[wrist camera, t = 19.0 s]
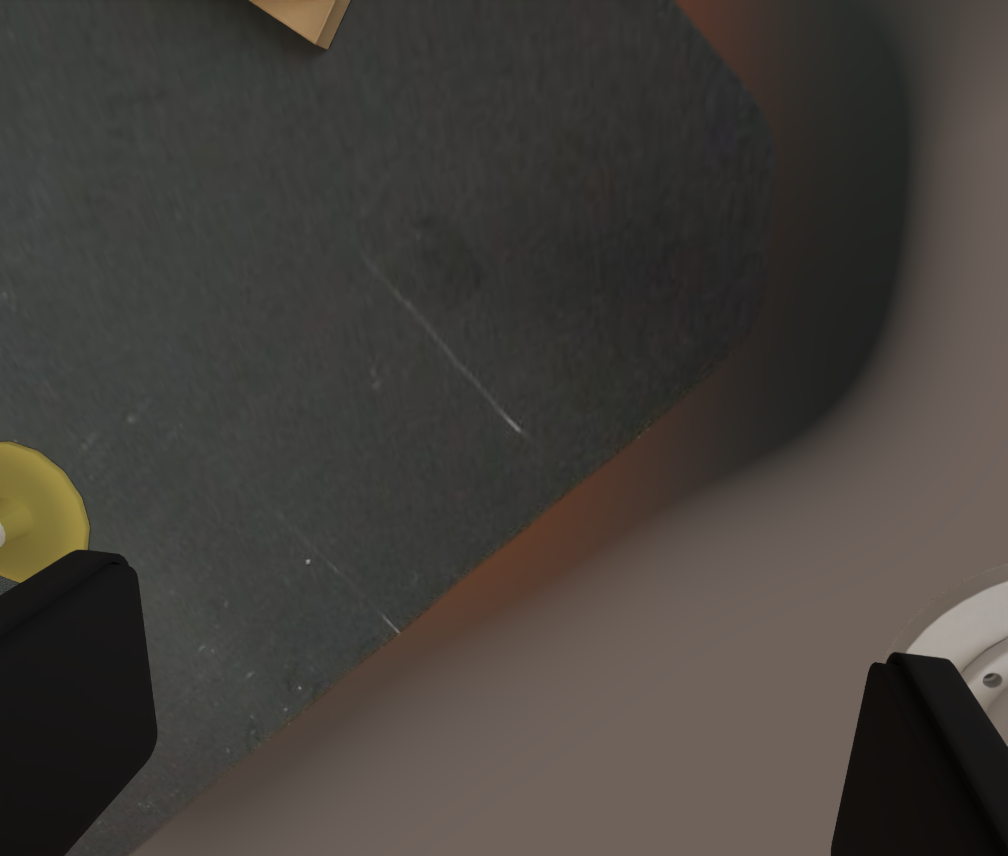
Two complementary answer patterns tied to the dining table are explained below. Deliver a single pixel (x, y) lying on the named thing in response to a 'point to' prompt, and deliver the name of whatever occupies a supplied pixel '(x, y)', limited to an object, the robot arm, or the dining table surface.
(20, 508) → the candle
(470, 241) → the dining table surface
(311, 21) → the peg stand
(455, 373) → the dining table surface
